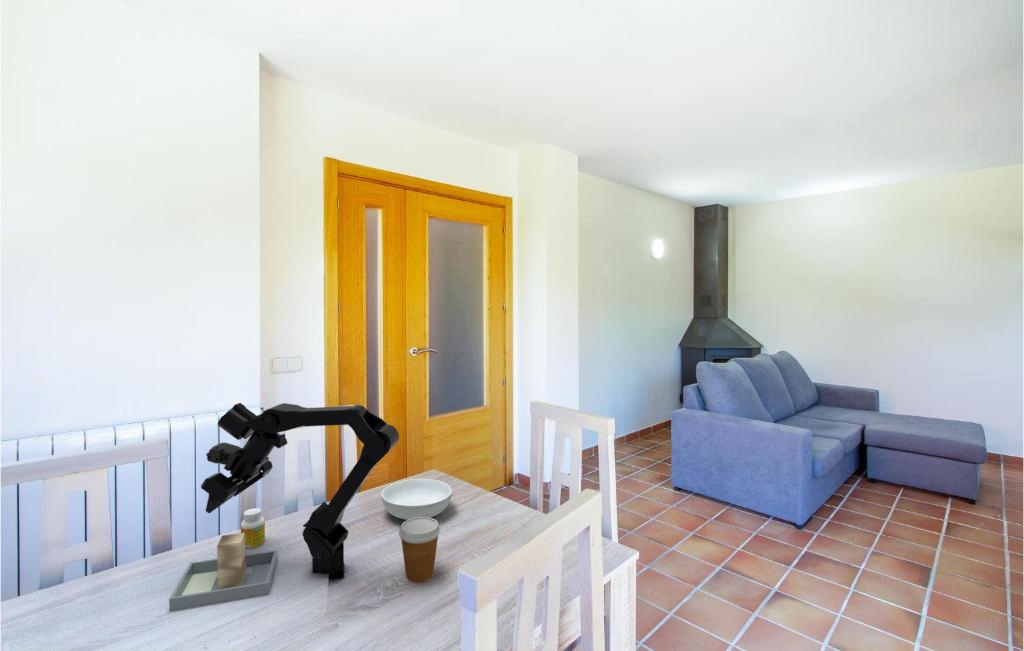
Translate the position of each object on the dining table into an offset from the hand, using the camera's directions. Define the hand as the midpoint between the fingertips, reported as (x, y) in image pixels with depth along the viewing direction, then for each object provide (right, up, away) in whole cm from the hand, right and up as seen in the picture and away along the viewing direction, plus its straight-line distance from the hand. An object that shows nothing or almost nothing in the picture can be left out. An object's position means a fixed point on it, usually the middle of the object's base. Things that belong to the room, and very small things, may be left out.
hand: (220, 503), depth 114 cm
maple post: (+7, -15, -7) cm, 18 cm away
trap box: (+6, -16, -7) cm, 19 cm away
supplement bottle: (+2, -16, +10) cm, 19 cm away
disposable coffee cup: (+47, -17, -1) cm, 50 cm away
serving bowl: (+40, -15, +32) cm, 53 cm away
